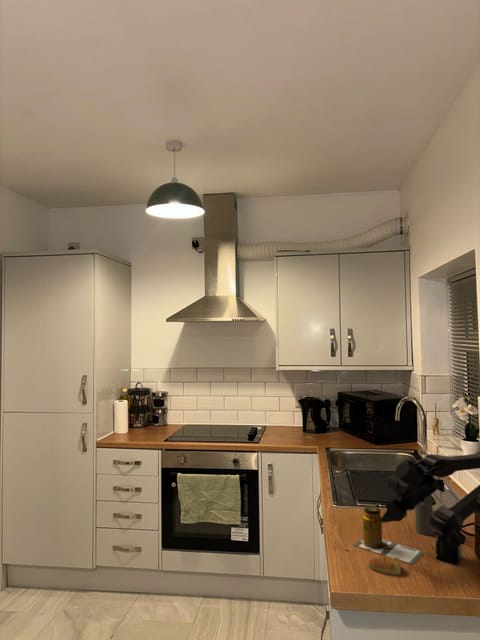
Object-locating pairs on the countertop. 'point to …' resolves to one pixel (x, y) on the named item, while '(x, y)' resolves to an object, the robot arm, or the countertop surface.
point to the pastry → (386, 565)
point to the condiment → (373, 529)
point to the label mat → (396, 551)
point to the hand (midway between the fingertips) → (387, 516)
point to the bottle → (424, 517)
